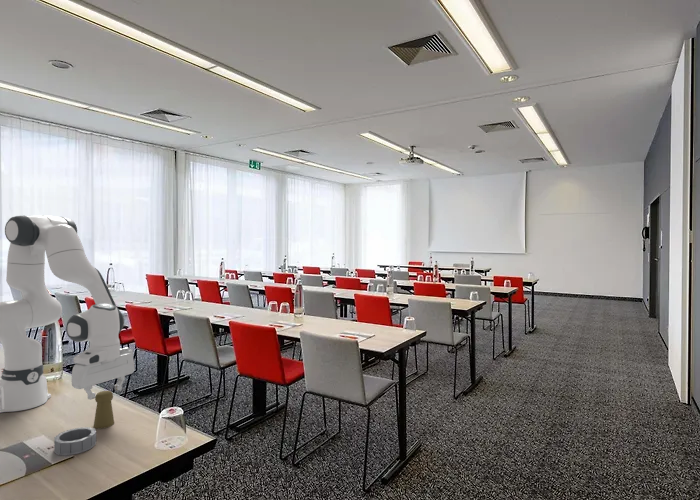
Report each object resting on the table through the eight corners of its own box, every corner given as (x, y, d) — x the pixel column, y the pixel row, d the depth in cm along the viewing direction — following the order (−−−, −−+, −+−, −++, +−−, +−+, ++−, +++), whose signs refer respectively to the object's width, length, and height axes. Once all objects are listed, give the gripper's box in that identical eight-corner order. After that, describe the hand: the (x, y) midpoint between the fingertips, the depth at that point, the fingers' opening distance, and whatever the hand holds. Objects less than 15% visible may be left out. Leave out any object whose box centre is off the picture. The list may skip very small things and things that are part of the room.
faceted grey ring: (46, 450, 126) (46, 438, 126) (81, 436, 135) (81, 424, 135) (68, 458, 121) (68, 446, 121) (103, 443, 131) (103, 431, 131)
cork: (105, 429, 140) (105, 395, 140) (89, 427, 141) (89, 394, 141) (118, 421, 146) (118, 389, 146) (103, 420, 147) (103, 388, 147)
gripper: (126, 345, 154) (126, 383, 154) (68, 359, 135) (68, 402, 136) (138, 346, 151) (138, 386, 152) (81, 361, 133) (81, 405, 133)
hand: (105, 394), depth 143 cm, fingers open, 8 cm apart
